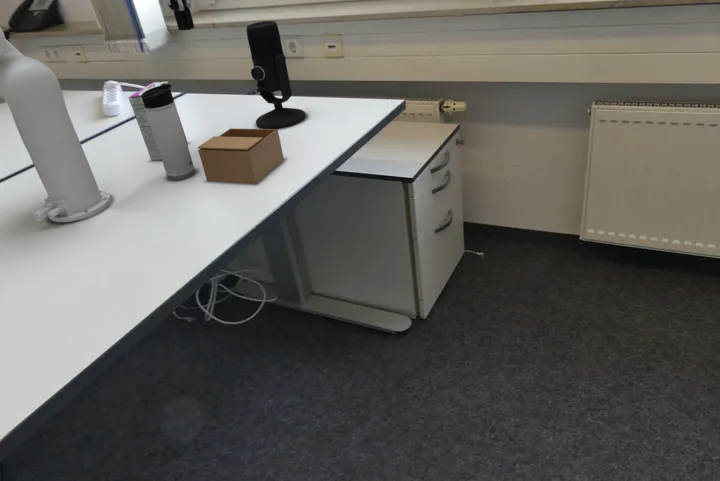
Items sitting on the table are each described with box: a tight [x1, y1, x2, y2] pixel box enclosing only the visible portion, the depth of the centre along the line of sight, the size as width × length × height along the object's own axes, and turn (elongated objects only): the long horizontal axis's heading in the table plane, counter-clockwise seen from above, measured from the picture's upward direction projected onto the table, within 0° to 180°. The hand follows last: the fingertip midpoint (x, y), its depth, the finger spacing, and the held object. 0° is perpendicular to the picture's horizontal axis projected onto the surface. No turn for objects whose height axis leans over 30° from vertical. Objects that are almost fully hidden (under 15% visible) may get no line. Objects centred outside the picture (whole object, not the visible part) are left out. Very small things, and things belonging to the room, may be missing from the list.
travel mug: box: [141, 83, 196, 181], centre depth 125 cm, size 6×7×20 cm
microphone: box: [245, 20, 307, 130], centre depth 148 cm, size 14×14×25 cm
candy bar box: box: [128, 81, 188, 162], centre depth 140 cm, size 11×5×16 cm, turn 168°
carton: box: [197, 128, 285, 185], centre depth 126 cm, size 13×13×7 cm
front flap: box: [197, 135, 262, 150], centre depth 121 cm, size 6×12×1 cm, turn 68°
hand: (186, 29), depth 125 cm, fingers closed
